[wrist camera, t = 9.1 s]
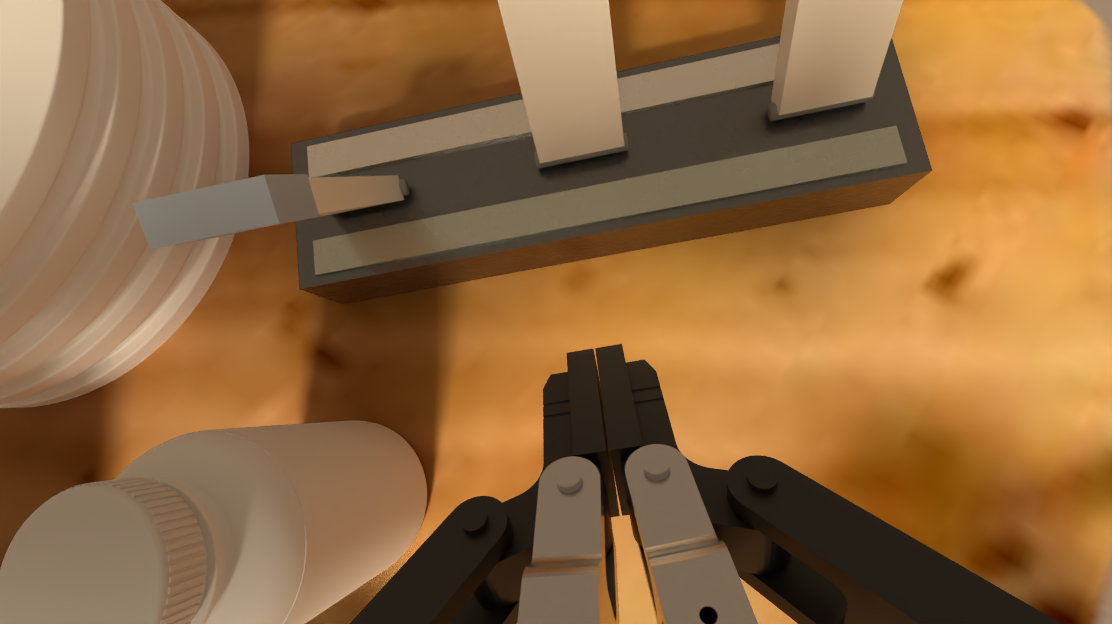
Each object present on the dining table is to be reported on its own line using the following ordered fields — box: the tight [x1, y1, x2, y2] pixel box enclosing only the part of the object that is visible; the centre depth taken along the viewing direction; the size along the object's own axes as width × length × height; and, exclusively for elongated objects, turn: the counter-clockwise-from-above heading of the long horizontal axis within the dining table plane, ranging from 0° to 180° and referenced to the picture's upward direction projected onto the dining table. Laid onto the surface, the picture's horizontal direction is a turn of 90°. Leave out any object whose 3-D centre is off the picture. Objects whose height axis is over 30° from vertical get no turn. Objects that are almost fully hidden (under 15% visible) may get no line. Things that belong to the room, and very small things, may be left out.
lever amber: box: [498, 0, 629, 168], centre depth 21 cm, size 1×4×12 cm, turn 98°
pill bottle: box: [0, 420, 427, 624], centre depth 21 cm, size 8×8×15 cm
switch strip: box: [291, 36, 932, 304], centre depth 28 cm, size 8×30×4 cm, turn 98°
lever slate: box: [133, 174, 410, 250], centre depth 21 cm, size 1×4×12 cm, turn 99°
